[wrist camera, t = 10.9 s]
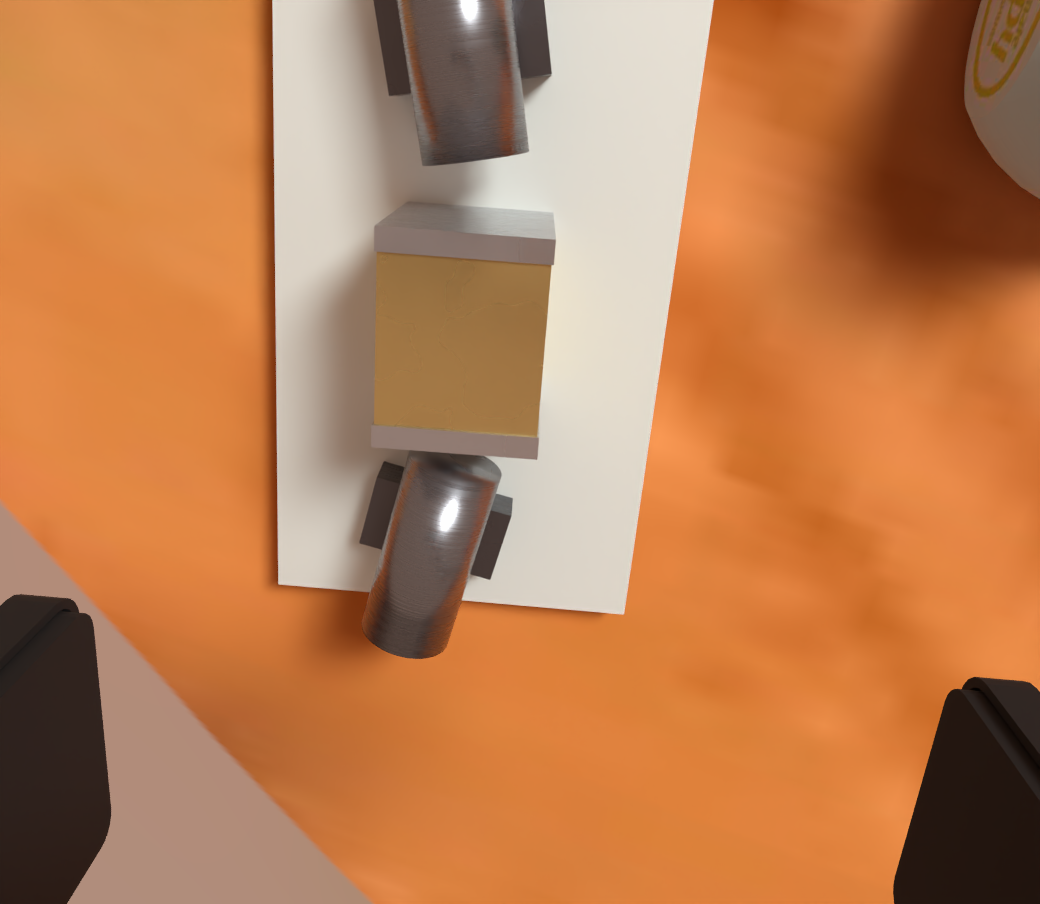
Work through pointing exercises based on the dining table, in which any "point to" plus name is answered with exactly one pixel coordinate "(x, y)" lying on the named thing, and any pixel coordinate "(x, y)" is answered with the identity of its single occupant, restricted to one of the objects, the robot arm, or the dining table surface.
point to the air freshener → (1007, 86)
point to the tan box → (461, 328)
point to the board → (572, 297)
